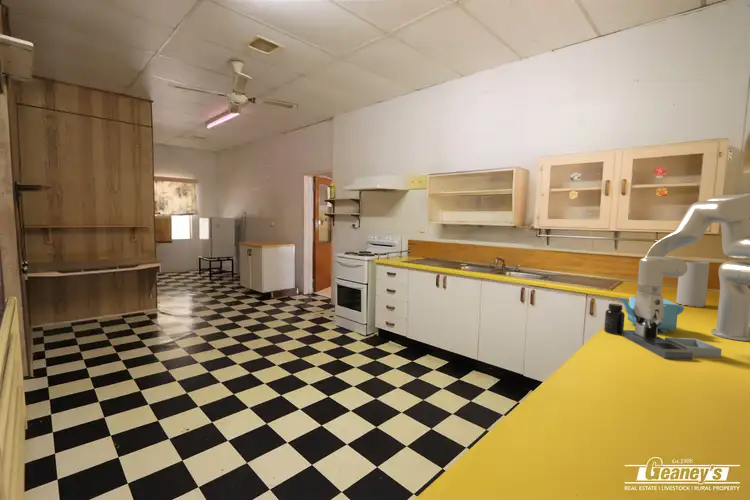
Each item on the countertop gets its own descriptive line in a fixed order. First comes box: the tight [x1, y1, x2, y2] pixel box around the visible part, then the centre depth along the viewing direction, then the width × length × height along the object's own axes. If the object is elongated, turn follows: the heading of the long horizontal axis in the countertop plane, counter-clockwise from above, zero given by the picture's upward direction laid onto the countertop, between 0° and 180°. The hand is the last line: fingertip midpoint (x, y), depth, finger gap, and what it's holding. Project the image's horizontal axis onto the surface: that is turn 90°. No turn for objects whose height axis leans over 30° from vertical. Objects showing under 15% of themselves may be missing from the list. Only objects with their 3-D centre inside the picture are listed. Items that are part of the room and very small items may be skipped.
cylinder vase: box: [675, 260, 710, 308], centre depth 202 cm, size 12×12×25 cm
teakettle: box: [617, 296, 685, 334], centre depth 157 cm, size 19×19×15 cm
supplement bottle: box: [603, 303, 626, 335], centre depth 151 cm, size 7×7×12 cm
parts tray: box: [664, 336, 722, 358], centre depth 130 cm, size 11×11×3 cm
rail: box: [621, 329, 694, 361], centre depth 134 cm, size 24×9×2 cm, turn 176°
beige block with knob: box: [634, 322, 659, 339], centre depth 138 cm, size 5×5×8 cm
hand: (645, 334), depth 139 cm, fingers closed on beige block with knob, 5 cm apart
